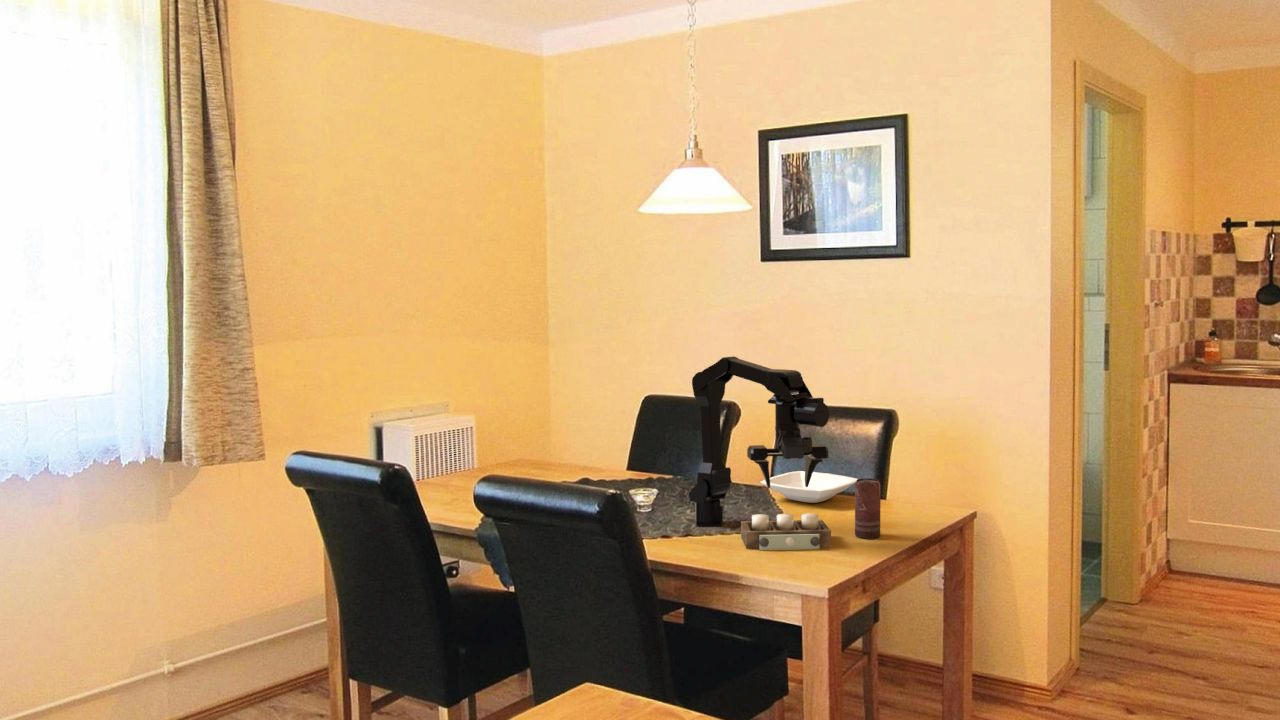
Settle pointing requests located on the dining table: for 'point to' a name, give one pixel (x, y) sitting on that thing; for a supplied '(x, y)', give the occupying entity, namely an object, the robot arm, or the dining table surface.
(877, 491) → the can
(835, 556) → the dining table surface
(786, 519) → the button mid
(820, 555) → the dining table surface
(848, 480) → the bowl
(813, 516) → the button right
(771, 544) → the card
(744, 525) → the brown compartment tray
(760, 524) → the button left
